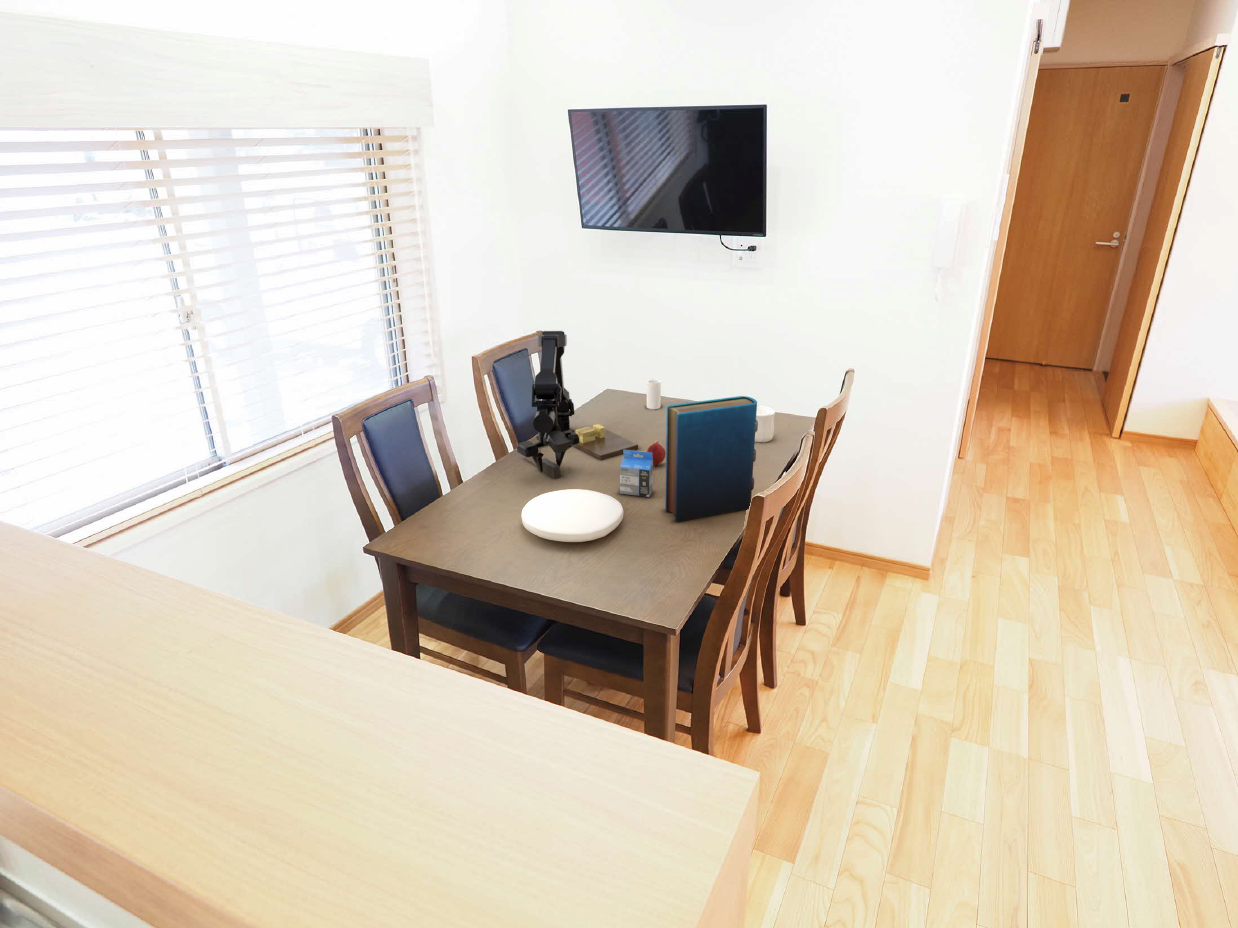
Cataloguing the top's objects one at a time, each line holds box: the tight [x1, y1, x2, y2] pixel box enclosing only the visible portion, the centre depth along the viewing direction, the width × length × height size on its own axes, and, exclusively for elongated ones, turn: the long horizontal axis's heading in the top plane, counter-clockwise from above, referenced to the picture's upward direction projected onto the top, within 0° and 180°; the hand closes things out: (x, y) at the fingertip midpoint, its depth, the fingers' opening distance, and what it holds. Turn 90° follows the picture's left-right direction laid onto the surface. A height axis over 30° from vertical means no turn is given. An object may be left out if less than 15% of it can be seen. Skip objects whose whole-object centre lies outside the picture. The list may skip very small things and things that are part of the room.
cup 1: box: [646, 378, 662, 410], centre depth 291 cm, size 5×5×10 cm
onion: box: [646, 440, 666, 466], centre depth 241 cm, size 6×6×8 cm
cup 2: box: [755, 405, 776, 443], centre depth 261 cm, size 10×10×10 cm
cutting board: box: [572, 426, 639, 461], centre depth 257 cm, size 20×15×5 cm
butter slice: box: [592, 423, 606, 438], centre depth 261 cm, size 4×2×4 cm, turn 37°
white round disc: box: [520, 488, 625, 543], centre depth 205 cm, size 28×6×27 cm
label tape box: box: [619, 450, 654, 498], centre depth 222 cm, size 9×4×12 cm, turn 73°
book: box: [664, 395, 758, 523], centre depth 209 cm, size 24×9×30 cm, turn 110°
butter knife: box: [525, 457, 561, 479], centre depth 240 cm, size 18×2×4 cm, turn 37°
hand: (549, 469), depth 237 cm, fingers open, 6 cm apart
